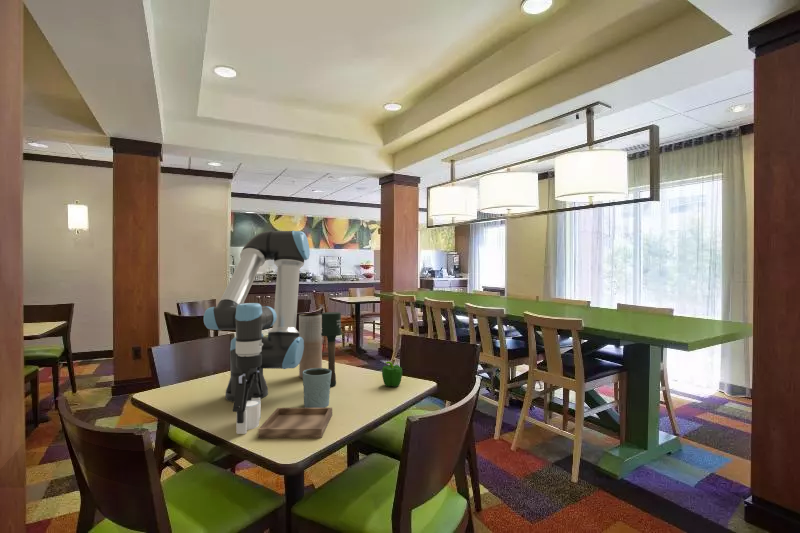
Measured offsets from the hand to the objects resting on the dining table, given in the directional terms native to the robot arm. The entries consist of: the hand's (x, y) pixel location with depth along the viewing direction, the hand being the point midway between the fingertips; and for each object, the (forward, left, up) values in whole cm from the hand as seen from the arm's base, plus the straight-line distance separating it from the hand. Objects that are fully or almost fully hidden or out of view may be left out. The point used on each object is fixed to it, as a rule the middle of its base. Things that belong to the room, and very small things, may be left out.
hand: (249, 425), depth 125 cm
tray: (+15, 0, 0) cm, 15 cm away
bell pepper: (+43, +43, 0) cm, 61 cm away
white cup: (0, 0, 0) cm, 0 cm away
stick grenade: (+18, +43, 0) cm, 47 cm away
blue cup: (+17, +19, 0) cm, 26 cm away
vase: (+6, +58, 0) cm, 58 cm away
